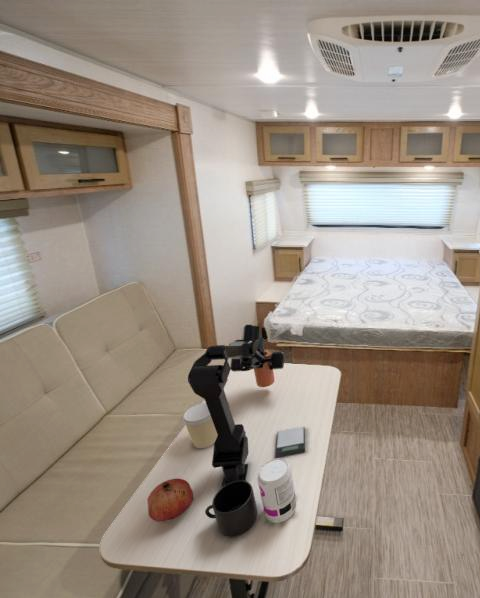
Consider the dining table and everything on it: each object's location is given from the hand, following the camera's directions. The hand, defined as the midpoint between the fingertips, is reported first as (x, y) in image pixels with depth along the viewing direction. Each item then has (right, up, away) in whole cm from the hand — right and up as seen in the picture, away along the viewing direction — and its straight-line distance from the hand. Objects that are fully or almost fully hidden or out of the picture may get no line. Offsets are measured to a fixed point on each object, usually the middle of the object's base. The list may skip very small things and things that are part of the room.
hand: (264, 366), depth 136 cm
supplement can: (+22, -31, -43) cm, 57 cm away
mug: (+10, -32, -46) cm, 57 cm away
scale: (+18, -22, -21) cm, 35 cm away
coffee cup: (-12, -22, -20) cm, 31 cm away
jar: (0, -7, +1) cm, 7 cm away
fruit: (-7, -31, -43) cm, 54 cm away
